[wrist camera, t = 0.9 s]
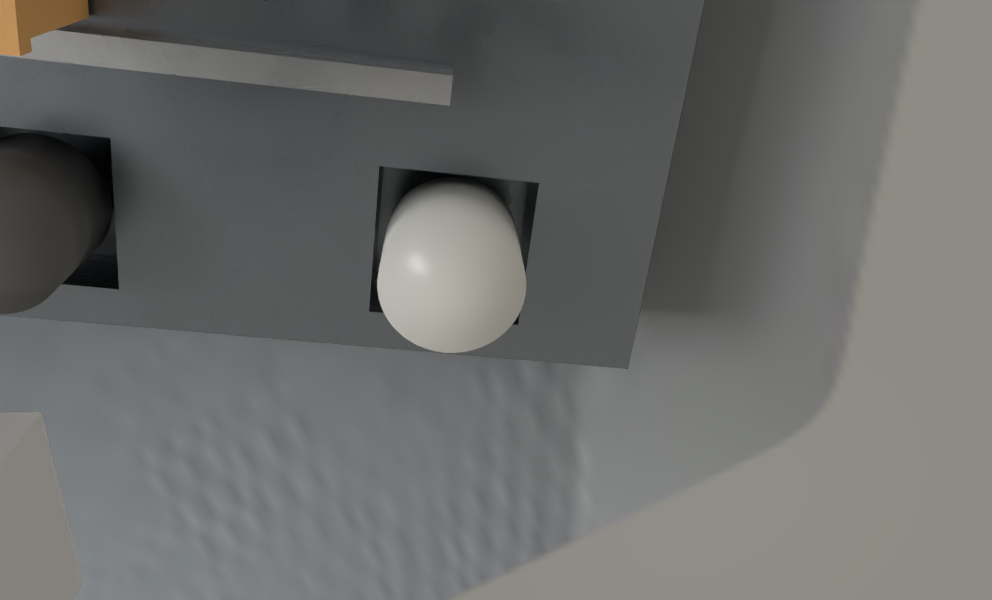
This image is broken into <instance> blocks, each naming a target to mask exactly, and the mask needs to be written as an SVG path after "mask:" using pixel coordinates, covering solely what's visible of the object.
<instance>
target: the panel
mask: <svg viewBox="0 0 992 600" xmlns="http://www.w3.org/2000/svg"><path fill="white" fill-rule="evenodd" d="M704 1H705V0H88V11H89V18H87V19H84V20H81V21H78V22H75V23H73V24H70V25H67V26H64V27H61V28H58V29H55V30H53V31H50V32H47V33H44V34H41V35H38V36H36V37H33V38H31V47H32V52H30V53H28V54H25V55H22V56H12V55H3V54H0V138H3V137H6V136H9V135H13V134H19V133H36V134H43V135H47V136H51V137H54V138H57V139H59V140H62V141H64V142H66V143H68V144H69V145H71V146H73V147H74V148H76V149H77V150H79V151H80V152H82V153H83V154H84V155H85V156H86V157H87V158H88V159H89V160H90V161H91V162H92V163H93V164H94V165H95V166H96V168H97V169H98V170H99V172H100V173H101V175H102V177H103V178H104V180H105V182H106V184H107V187H108V189H109V192H110V196H111V200H112V221H111V226H110V229H109V232H108V234H107V235H106V237H105V239H104V240H103V242H102V243H101V245H100V246H99V247H98V248H97V249H96V250H95V251H94V252H93V253H92V254H91V255H90V256H89V257H88V258H87V259H86V260H85V261H84V262H83V263H82V264H81V265H80V266H79V267H78V268H77V269H76V270H75V271H74V272H73V273H72V274H71V275H70V276H69V277H68V278H67V279H66V280H65V281H64V282H63V283H62V284H61V285H60V286H59V287H58V288H57V289H56V290H55V291H54V292H53V293H52V294H51V295H50V296H49V297H48V298H47V299H46V300H45V301H43V302H42V303H41V304H39V305H37V306H35V307H33V308H31V309H28V310H26V311H23V312H18V313H13V314H0V315H5V316H16V317H28V318H40V319H52V320H63V321H75V322H87V323H98V324H110V325H122V326H134V327H145V328H157V329H169V330H180V331H192V332H204V333H215V334H227V335H239V336H251V337H262V338H274V339H286V340H297V341H309V342H321V343H332V344H344V345H356V346H368V347H379V348H391V349H403V350H414V351H426V352H437V351H433V350H429V349H425V348H423V347H420V346H418V345H416V344H414V343H412V342H411V341H409V340H407V339H406V338H405V337H403V336H402V335H401V334H400V333H399V332H398V331H397V330H395V328H394V327H393V326H392V325H391V324H390V322H389V321H388V319H387V318H386V316H385V314H384V312H383V310H382V308H381V305H380V301H379V298H378V291H377V279H378V272H379V266H380V261H381V256H382V250H383V245H384V239H385V234H386V229H387V224H388V221H389V218H390V216H391V213H392V211H393V209H394V208H395V206H396V205H397V203H398V202H399V201H400V200H401V199H402V197H403V196H405V195H406V194H407V193H408V192H409V191H410V190H412V189H413V188H415V187H416V186H418V185H420V184H422V183H424V182H427V181H430V180H433V179H438V178H444V177H459V178H465V179H469V180H473V181H476V182H478V183H480V184H483V185H485V186H486V187H488V188H489V189H491V190H492V191H494V192H495V193H496V194H497V195H498V196H499V197H500V198H501V199H502V200H503V201H504V202H505V204H506V205H507V207H508V208H509V210H510V212H511V214H512V216H513V218H514V221H515V225H516V229H517V234H518V239H519V244H520V249H521V254H522V259H523V264H524V269H525V274H526V295H525V299H524V303H523V306H522V309H521V311H520V313H519V315H518V317H517V319H516V320H515V321H514V323H513V324H512V326H511V327H510V328H509V329H508V330H507V331H506V332H505V333H504V334H503V335H501V336H500V337H499V338H498V339H496V340H494V341H493V342H491V343H490V344H487V345H485V346H483V347H481V348H478V349H475V350H471V351H466V352H459V353H449V354H461V355H473V356H485V357H496V358H508V359H520V360H531V361H543V362H555V363H566V364H578V365H590V366H602V367H613V368H625V369H628V366H629V361H630V356H631V351H632V347H633V342H634V337H635V332H636V327H637V323H638V318H639V313H640V308H641V303H642V299H643V294H644V289H645V284H646V279H647V275H648V270H649V265H650V260H651V255H652V251H653V246H654V241H655V236H656V231H657V227H658V222H659V217H660V212H661V207H662V203H663V198H664V193H665V188H666V184H667V179H668V174H669V169H670V164H671V160H672V155H673V150H674V145H675V140H676V136H677V131H678V126H679V121H680V116H681V112H682V107H683V102H684V97H685V92H686V88H687V83H688V78H689V73H690V68H691V64H692V59H693V54H694V49H695V44H696V40H697V35H698V30H699V25H700V20H701V16H702V11H703V6H704ZM438 353H444V352H438Z"/></svg>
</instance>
